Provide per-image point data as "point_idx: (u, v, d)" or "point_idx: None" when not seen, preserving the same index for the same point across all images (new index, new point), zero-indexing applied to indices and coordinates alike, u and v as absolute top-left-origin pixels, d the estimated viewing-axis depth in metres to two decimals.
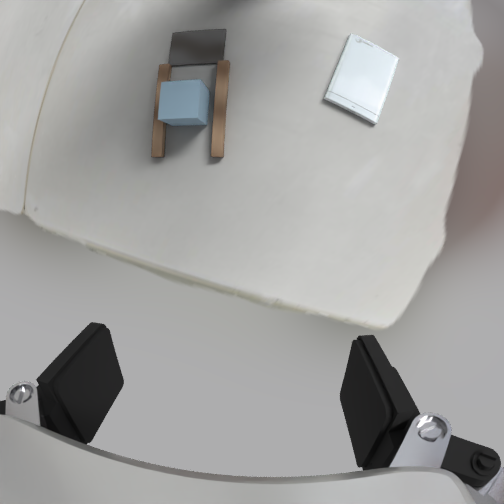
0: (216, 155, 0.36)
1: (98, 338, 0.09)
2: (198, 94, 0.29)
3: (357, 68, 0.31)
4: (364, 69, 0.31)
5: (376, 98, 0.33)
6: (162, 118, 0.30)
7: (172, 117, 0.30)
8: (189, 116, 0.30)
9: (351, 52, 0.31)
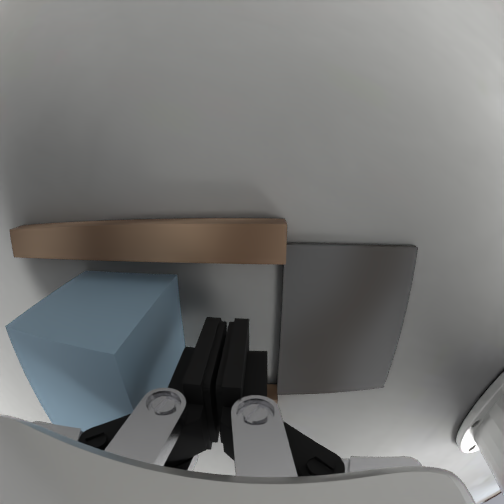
0: None
1: None
2: None
3: None
4: None
5: None
6: None
7: (25, 371, 0.07)
8: (46, 410, 0.08)
9: None
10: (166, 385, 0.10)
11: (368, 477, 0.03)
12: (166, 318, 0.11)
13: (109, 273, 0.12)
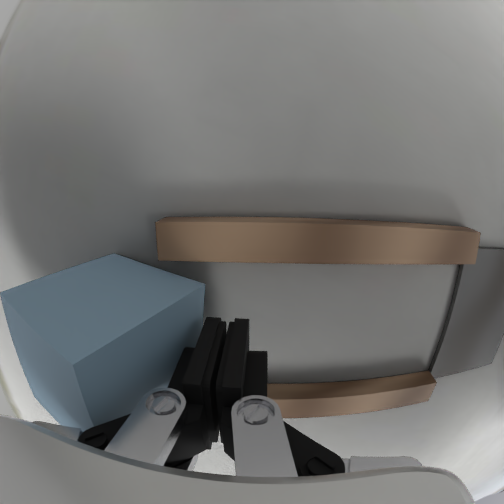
0: None
1: None
2: None
3: None
4: None
5: None
6: None
7: (13, 340, 0.07)
8: (29, 383, 0.08)
9: None
10: None
11: (368, 477, 0.03)
12: (174, 332, 0.09)
13: (134, 263, 0.11)
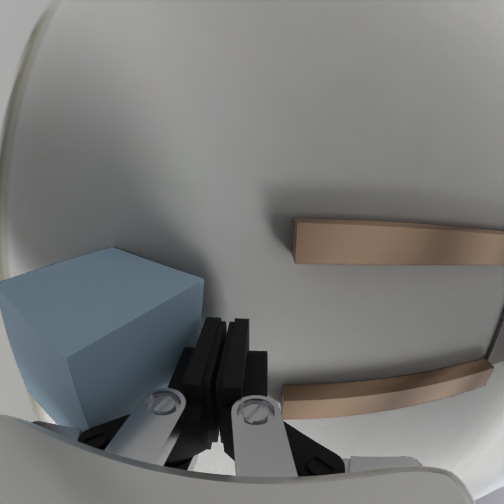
0: (285, 410, 0.13)
1: None
2: None
3: None
4: None
5: None
6: None
7: (7, 333, 0.07)
8: (22, 377, 0.07)
9: None
10: None
11: (368, 477, 0.03)
12: (172, 327, 0.09)
13: (133, 257, 0.11)
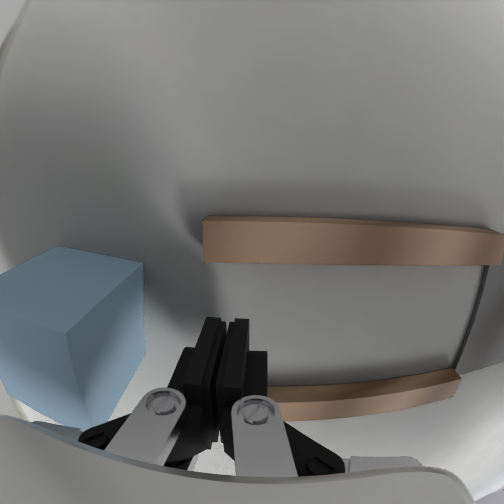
0: None
1: None
2: (55, 419, 0.07)
3: None
4: None
5: None
6: None
7: None
8: (2, 378, 0.07)
9: None
10: (119, 371, 0.10)
11: (368, 477, 0.03)
12: (126, 304, 0.10)
13: (79, 251, 0.12)
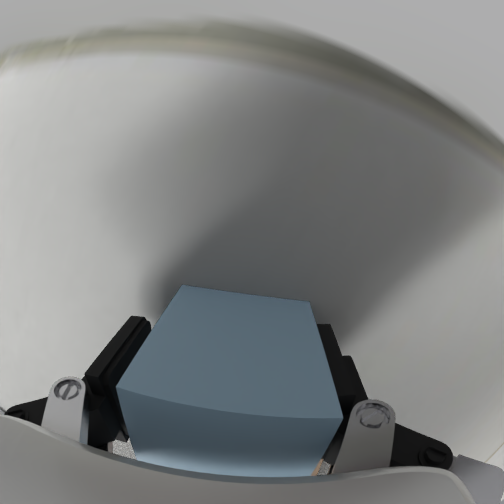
0: None
1: (141, 331, 0.10)
2: (138, 454, 0.06)
3: None
4: None
5: None
6: (316, 418, 0.05)
7: (255, 419, 0.05)
8: (156, 403, 0.05)
9: None
10: None
11: (368, 477, 0.03)
12: None
13: None
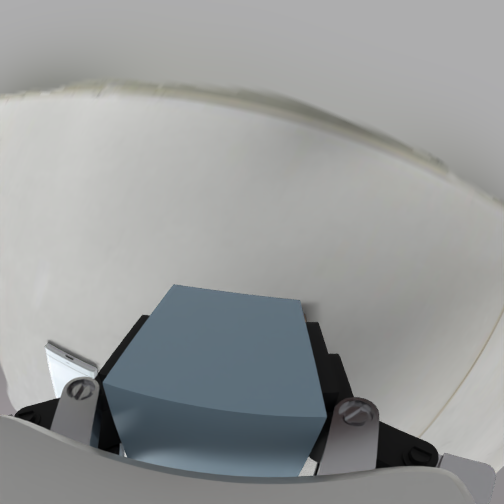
0: None
1: None
2: (128, 451, 0.06)
3: None
4: None
5: (54, 370, 0.29)
6: (299, 416, 0.05)
7: (237, 416, 0.05)
8: (141, 399, 0.05)
9: None
10: None
11: (368, 477, 0.03)
12: None
13: None
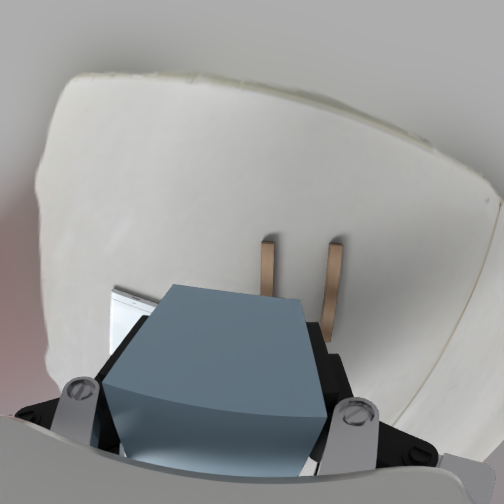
0: (267, 245, 0.34)
1: None
2: (127, 451, 0.06)
3: None
4: None
5: (117, 314, 0.39)
6: (299, 416, 0.05)
7: (237, 416, 0.05)
8: (141, 399, 0.05)
9: None
10: None
11: (368, 477, 0.03)
12: None
13: None
